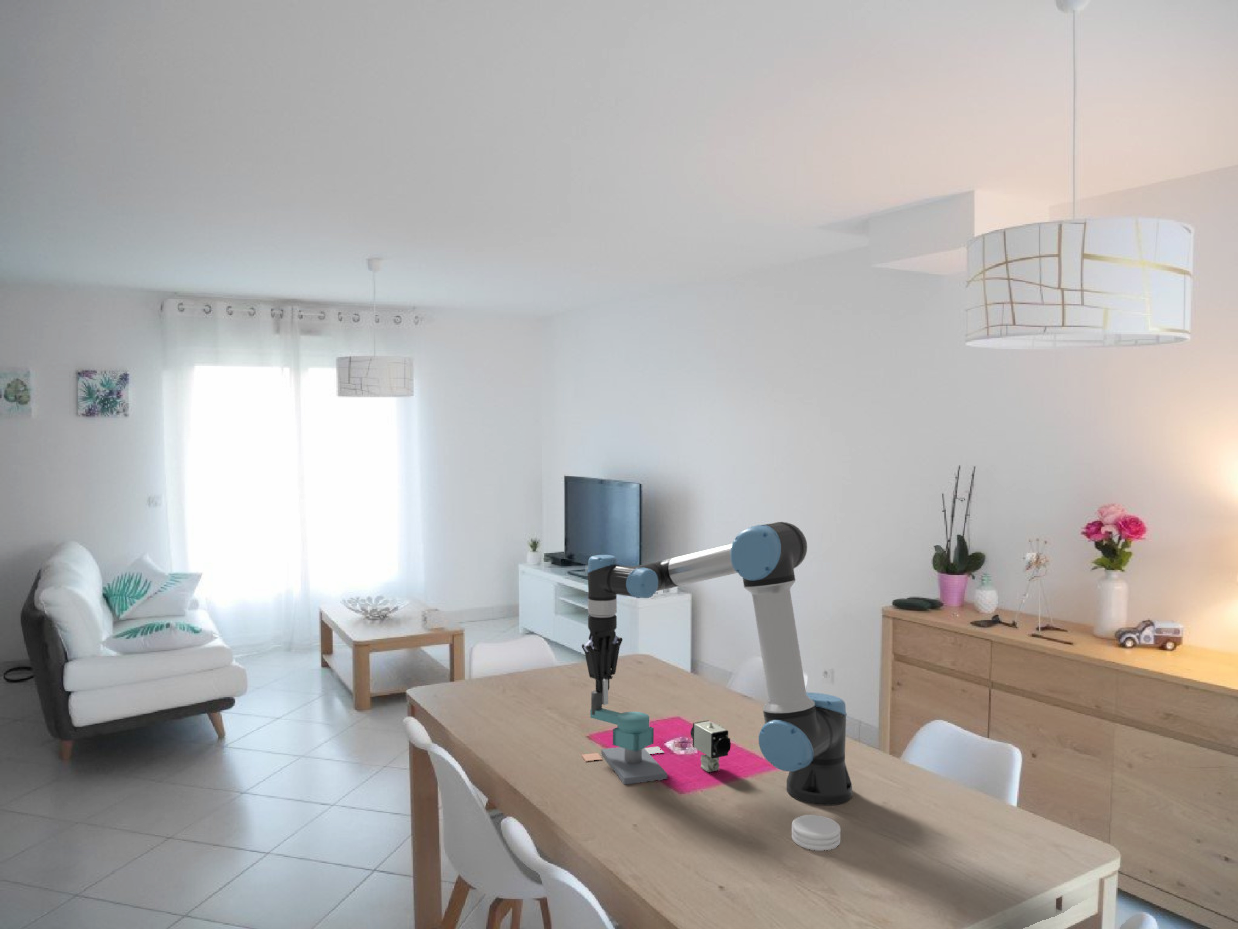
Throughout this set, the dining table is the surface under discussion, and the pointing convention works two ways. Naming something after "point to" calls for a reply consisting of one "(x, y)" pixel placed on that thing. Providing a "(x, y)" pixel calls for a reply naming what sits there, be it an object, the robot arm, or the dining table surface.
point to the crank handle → (624, 725)
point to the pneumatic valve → (710, 743)
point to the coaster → (816, 832)
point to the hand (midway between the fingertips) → (602, 703)
